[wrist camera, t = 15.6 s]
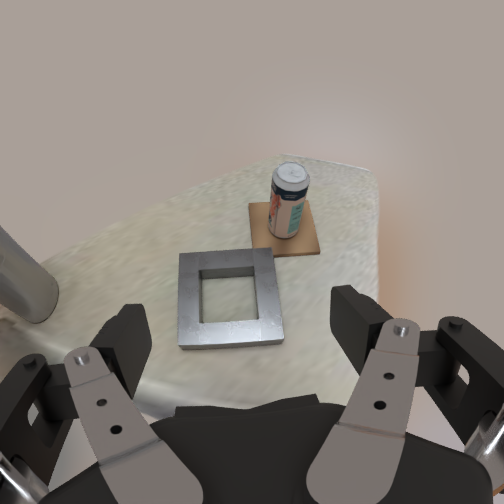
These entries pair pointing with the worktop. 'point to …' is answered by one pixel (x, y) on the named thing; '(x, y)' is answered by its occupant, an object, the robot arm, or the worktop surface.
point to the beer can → (287, 198)
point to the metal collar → (234, 332)
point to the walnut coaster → (283, 247)
